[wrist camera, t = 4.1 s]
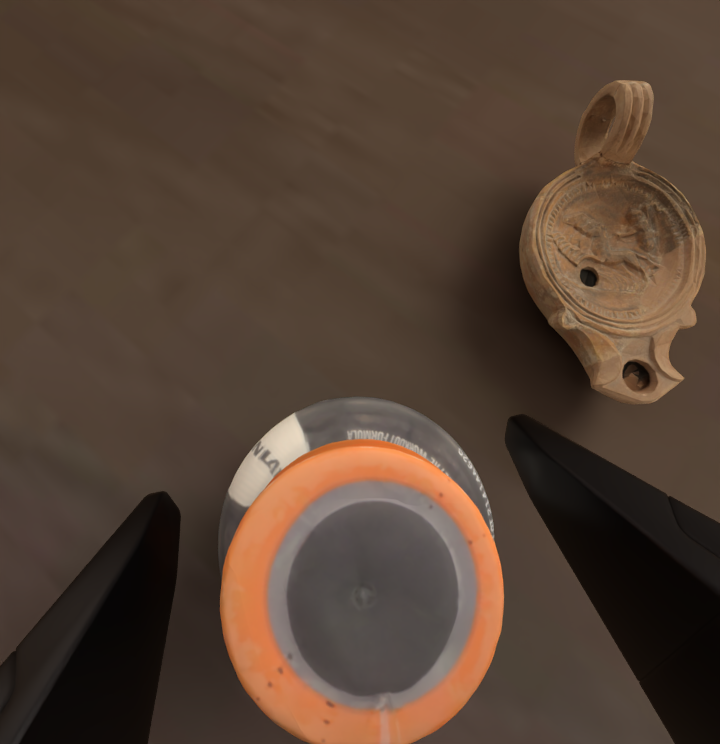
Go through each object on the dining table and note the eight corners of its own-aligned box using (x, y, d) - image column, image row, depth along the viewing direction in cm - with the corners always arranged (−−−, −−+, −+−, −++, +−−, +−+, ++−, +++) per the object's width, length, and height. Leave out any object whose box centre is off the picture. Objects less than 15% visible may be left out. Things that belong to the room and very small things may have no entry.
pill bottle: (257, 458, 16) (54, 523, 5) (371, 386, 17) (422, 297, 6) (329, 581, 15) (288, 985, 4) (445, 501, 16) (673, 662, 5)
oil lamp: (663, 409, 17) (791, 401, 12) (504, 405, 17) (570, 395, 12) (636, 157, 19) (737, 62, 14) (494, 149, 19) (546, 50, 14)
